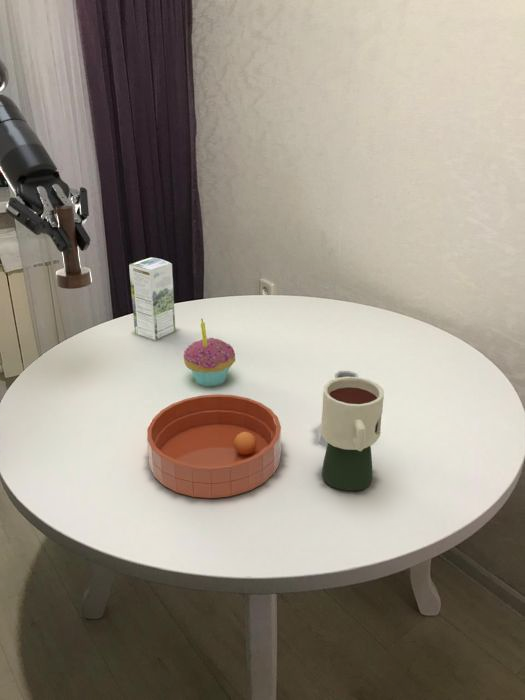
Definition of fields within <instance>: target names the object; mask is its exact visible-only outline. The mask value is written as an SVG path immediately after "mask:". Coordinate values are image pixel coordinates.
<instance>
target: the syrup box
mask: <svg viewBox="0 0 525 700" xmlns="http://www.w3.org/2000/svg"><path fill="white" fill-rule="evenodd" d="M128 269H129V280H130V292H131V293H130V294H131V301H132V302H131V303H132V315H133V328H134V334H135V335H139V336H142V337H145V338H147V339H151V340H153V341H157V340H159V339H161V338H163V337H166V336H167V335H169V334H171V333H174V332H175V331H176V317H175V316H176V315H175V296H174V278H173V263H171V262H170V261H167V260H165V259H162V258H157V257H148V258H145V259H141V260H139V261H136V262H133V263H129V265H128Z"/></svg>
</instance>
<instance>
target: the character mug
mask: <svg viewBox="0 0 525 700" xmlns="http://www.w3.org/2000/svg"><path fill="white" fill-rule="evenodd" d="M384 397H385V392H384V389H383V387H382V386H381V385H379V384H378V383H377V382H374V381H373V380H370V379H367V378H362V377H359V376H358V377H340V378H336V379H335V378H333V379H331V380H329V381H327V382H326V383H325V385H323V390H322V408H321V410H322V411H321V423H322V427H321V435H322V437H323V438H324V440H325V441H326V442H328V444H327V446H326V450H325V454H324V458H323V462H322V463H323V464H322V470H321V475H322V479H323V481H324V482H325V483H326V484H327V485H328V486H330V487H333V488H336V489H339V490H344V491H364V490H365V489H366V488H368V487H369V486H370V485H371V483H372V481H373V460H372V459H373V458H372V448H371V447H372V445H374V444H375V443H376V442H377V441H378V440H379V438H380V437H381V426H382V414H383V407H384Z"/></svg>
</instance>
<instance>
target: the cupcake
mask: <svg viewBox="0 0 525 700" xmlns="http://www.w3.org/2000/svg"><path fill="white" fill-rule="evenodd" d="M200 321H201V322H200V331H201V338H202V339H199V340H196V341H193V342H192V343H191V344H190V345H188V347H186V348H185V350H184V353H183V363H184V366H185V367H186V368H187V370H191V372H192V374H193V377H194V379H195V382H196V383H197V384H198V385H200V386H202V387H203V386H204V387H217V386H219V385H222V384H223V383H224V382H225V381H226V378H227V375H228V372H229V370H230V368H231V367H232V366H233V365H234V363H236V353H235V349H234V348H233V346H232V345H231V344H230V343H227V342H225V341H224V340H222V339H219V338H214V337H209V338H208V337H207V331H206V330H207V329H206V323H205V321H204V319H203V317H202V318H200Z"/></svg>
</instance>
